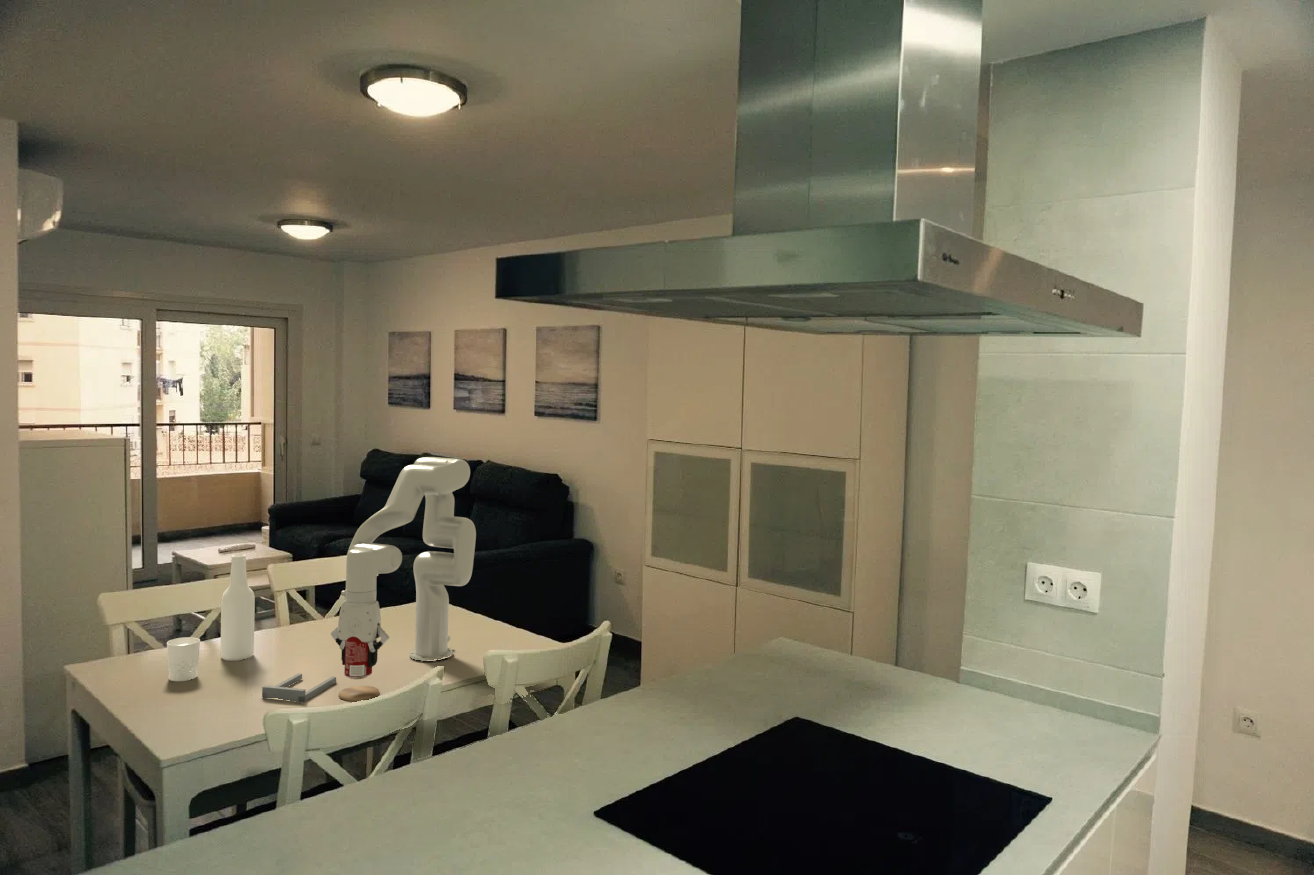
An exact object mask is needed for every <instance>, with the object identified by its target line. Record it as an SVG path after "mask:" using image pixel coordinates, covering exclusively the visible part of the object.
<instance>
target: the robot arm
mask: <svg viewBox="0 0 1314 875" xmlns="http://www.w3.org/2000/svg"><path fill="white" fill-rule="evenodd" d="M470 476H471V468H470V465H469V464H468V462H467V461H466V460H464V459H462V458H452V457H439V456H438V457H437V456H426V457H423V456H422V457H420V458H417V459H416V460H415V461H414V463H413V464H409V465H406V466H404V468H402V470H401V471H400V472H399V474H398V477H397V479H396V482H395V484H394V486H393V488H392V490H391V493H390V494H389V497H388V498H387V501H386V503H385V505H384V507H383V508H381V509H380V510H379V511H377V512H375V513H374V514H373V515H371V516H370V517H369V518H368V519H366V520H365V521H364V522H363V523H362V524H361V525H360V526H359V528H357V530H356V532H355V533H354V536H353V538H352V539H351V543H350V545H349V547H348V550H347V553H346V569H345V570H346V572H345V576H346V577H345V590H342V591H341V597H344V599H345V600H343V601H342V603H341V607H340V610H339V616H338V621H337V622H338V625H337V627H336V628H334V630H332V632H330V636H331V638H333V639H334V641H335V643H336V644H337V645H338V646H339V649H340V650H341V658H340V660H341V661H342V662H341V664H342V666H345V641H346V640H347V639H348V638H350V637H353V636H354V637H357V638H359V639H360V640H361V642H365V643H368V646H369V648H370V652H369V653H368V667H372V668H373V667H374V666H375V665H377V663H378V651H379V649H380V648H382V647H383V645H384V644H385V643H387V641H388V640H389V639H390V636H389V635H388V633H387V632H386V631H385V630H384V629H383V628H382V618H381V608H380V603H379V601H378V600H377V578H378V577H377V575H380V574H390V573H393V572H395V571H397V570H398V569H399V568H400V566H401V565H402V562H403V552H401V550H400V549H399V548H398V547H396V546H395V545H392V544H391V545H390V544H386V543H385V544H383V543H382V544H381V543H376V542H375V543H374V541H375V540H376V539H377V538H378V537H380V535H382V534H384V533H386V532H389V531H390V530H393V529H396V528H399V527H402V526H405V525H406V524H409V523H411V522H412V521H413V520H414V519H415V517H416V514H417V511H418V509H419V507H420V504H421V503H422V500H423V498H424V497H425V506H424V507H425V509H424V516H423V518H424V519H423V528H422V539H423V540H422V541H423V542H424V544H426V545H427V546H429V547H434V548H443V549H445V548H446V549H453V553H452V552H446V551H435V550H434V551H433V550H431V551H430V550H427V551H423V552H421V553H419V554H418V555H417V556H416V557H415V559H414V562H413V567H412V568H413V576H414V581H415V591H416V593H415V594H416V595H415V598H416V599H415V602H416V603H415V604H416V605H415V630H414V631H415V633H414V635H415V637H414V639H415V640H414V649H412V650H410V651H409V658H410V657H411V658H412V659H411V658H410V659H411V660H413V659H415V660H414V661H416V660H421V661H420V662H423V661H427V660H434V659H437V660H438V659H441V658H443V657H448V656H450V655H452V653H453V650H452V649H451V648H449V646H448V643H449V642H450V641H451V637H450V635H449V612H450V611H449V604H450V603H449V602H450V599H449V593H448V591H447V588H446V587H445V586H452V587H453V586H454V587H463V586H465V585H467V584H468V583H469V582H470V580H471V577H472V575H473V569H474V559H475V550H476V540H477V539H476V538H477V530H476V525H475V524H474V522H473V521H472V520H471V519H469V518H468V517H463V516H455V496H454V494H453V492H455V491H456V490H459V489H461V488H463V487H465V485H467V483H468V482H469V480H470ZM354 633H356V634H354ZM379 638H380V639H379ZM378 639H379V641H378ZM452 656H453V655H452Z"/></svg>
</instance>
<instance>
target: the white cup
mask: <svg viewBox="0 0 1314 875" xmlns="http://www.w3.org/2000/svg"><path fill="white" fill-rule="evenodd" d="M200 646H201V639H200V638H197V637H191V636H188V637H187V636H185V637H178V638H173V639H170V640H168V641H167V642H166V656H167V660H166V662H167V670H168V672H167V673H168V680H169V681H171V682H187V681H191V679H192V680H194V679H196V678H197V677H198V670H199V663H200V662H199V659H200Z"/></svg>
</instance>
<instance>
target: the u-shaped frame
mask: <svg viewBox="0 0 1314 875" xmlns="http://www.w3.org/2000/svg"><path fill="white" fill-rule="evenodd" d="M300 679H302V680H303V673H297V674H294V675H293V676H290V677H289V678H288V679H286V680H284V681H281V682H279V683H277V684H276V685H263V686H262V687H261V698H262V697H263V698H278V699H283V700H290V701H289V702H291V701H296V702H295V703H301V702H302V703H304V702H306V701H308V700H309V699H311V698H312V697H315V696H316V695H318V694H319V693H321V692H323V691H324V690H326V689H328V688H329V687H331V686H333V685H335V684H336V683H337V676H331V677H328V678H327V679H325V680H324V681H322V682H321V683H319V684H316V685H315V686H313V687H312V688H309V689H308V690H307V691H306V689H303V688H294V687H290V686H289V685H291V684H293V683H294V684H296V683H298V682H300V681H301V680H300ZM299 680H300V681H299ZM297 681H298V682H297ZM295 682H296V683H295ZM294 684H293V685H294ZM287 686H289V687H287ZM291 686H292V685H291ZM286 687H287V688H286Z"/></svg>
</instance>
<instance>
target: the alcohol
mask: <svg viewBox="0 0 1314 875" xmlns="http://www.w3.org/2000/svg"><path fill="white" fill-rule="evenodd" d="M230 558H231V560H230V562H231V564H230V565H231V566H230V574H229V584H228V587H227V588H226V589H225V590H224V591H223V593H222V596H221V601H220V603H221V604H220V657H221V658H222V660H224V661H228V662H235V661H239V662H240V661H244V660H243V659H245V660H247V658H248V659H250V658H251V657H253V655H254V653H255V607H256V606H255V602H256V601H255V600H256V599H255V598H256V597H255V592H254V591H253V590H252V588H251V587H250V586H249V584H248V576H247V572H248V571H247V555H246V554H241V553H240V554H232V555H231V556H230Z"/></svg>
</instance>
